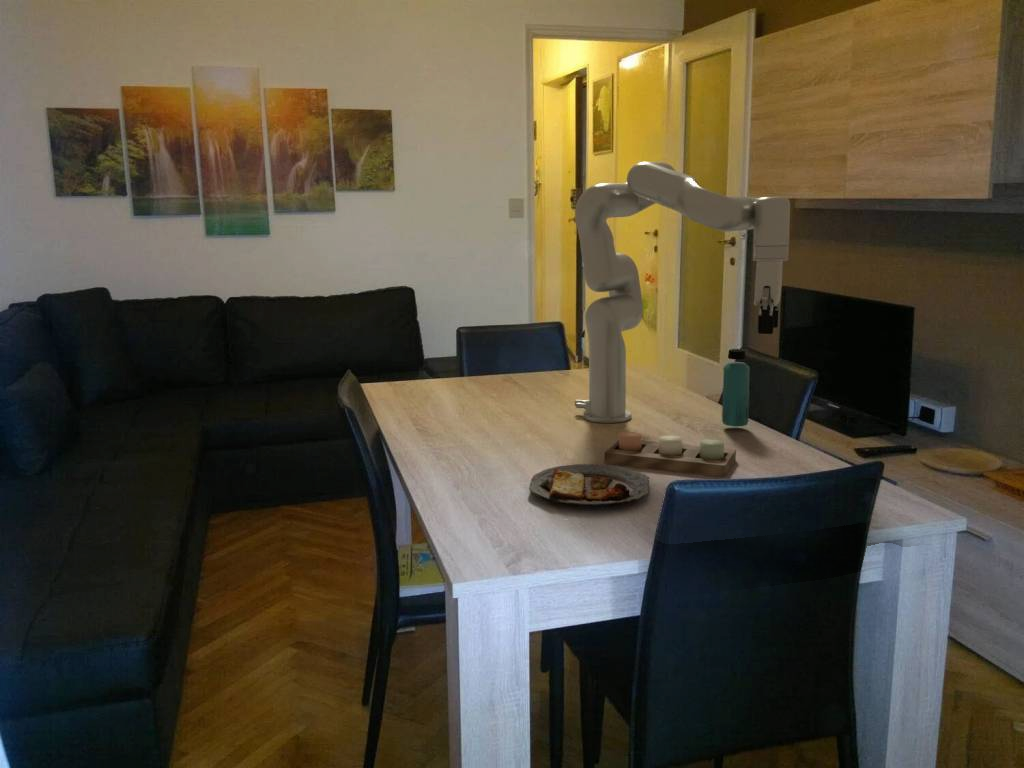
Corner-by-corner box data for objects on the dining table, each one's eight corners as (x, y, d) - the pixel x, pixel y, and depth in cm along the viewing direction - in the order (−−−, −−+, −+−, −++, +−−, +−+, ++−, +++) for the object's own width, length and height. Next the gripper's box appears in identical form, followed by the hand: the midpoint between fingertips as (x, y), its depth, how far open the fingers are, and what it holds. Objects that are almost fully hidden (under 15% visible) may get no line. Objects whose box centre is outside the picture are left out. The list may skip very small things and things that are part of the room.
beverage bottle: (749, 433, 209) (752, 352, 204) (721, 432, 210) (723, 351, 206) (747, 426, 215) (750, 347, 211) (720, 425, 216) (722, 346, 212)
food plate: (647, 516, 156) (647, 497, 155) (521, 512, 160) (521, 494, 159) (650, 476, 180) (650, 460, 180) (540, 473, 184) (540, 457, 184)
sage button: (697, 460, 182) (697, 444, 181) (702, 454, 186) (702, 438, 186) (721, 463, 180) (721, 447, 179) (725, 456, 184) (726, 440, 184)
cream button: (655, 456, 186) (656, 440, 185) (661, 449, 190) (662, 434, 189) (678, 458, 184) (679, 442, 183) (684, 452, 188) (684, 436, 187)
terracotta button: (616, 451, 189) (616, 436, 189) (622, 445, 194) (622, 430, 193) (637, 454, 187) (638, 438, 187) (644, 448, 192) (644, 432, 191)
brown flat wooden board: (604, 463, 187) (604, 452, 187) (621, 448, 198) (621, 438, 197) (724, 477, 177) (725, 465, 176) (735, 460, 187) (735, 449, 187)
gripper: (758, 251, 199) (755, 324, 203) (747, 256, 183) (745, 335, 187) (791, 251, 196) (789, 325, 200) (784, 256, 181) (781, 336, 184)
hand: (768, 330), depth 193 cm, fingers open, 9 cm apart
